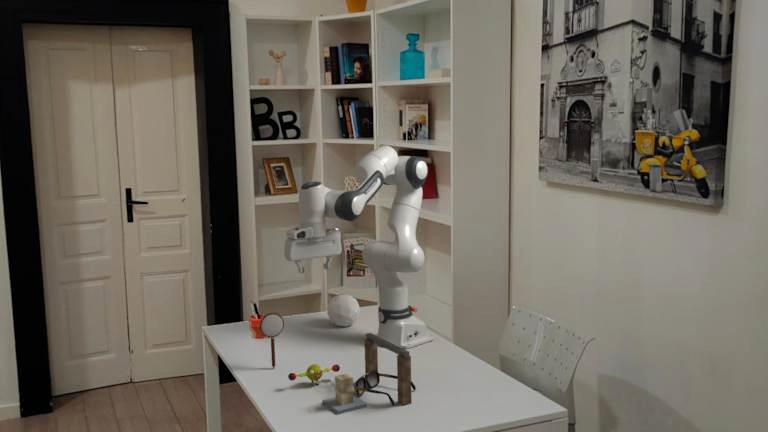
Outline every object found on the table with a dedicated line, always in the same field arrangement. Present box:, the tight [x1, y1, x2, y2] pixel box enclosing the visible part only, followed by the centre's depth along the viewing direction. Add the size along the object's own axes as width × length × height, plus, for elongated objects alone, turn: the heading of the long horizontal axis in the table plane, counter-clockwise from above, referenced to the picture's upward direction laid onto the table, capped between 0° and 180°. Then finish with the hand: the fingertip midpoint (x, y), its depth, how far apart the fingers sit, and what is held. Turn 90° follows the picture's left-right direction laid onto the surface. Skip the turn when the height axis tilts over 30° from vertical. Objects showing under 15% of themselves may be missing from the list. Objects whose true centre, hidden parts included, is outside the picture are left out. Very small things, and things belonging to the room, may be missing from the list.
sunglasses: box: [353, 370, 417, 407], centre depth 237 cm, size 14×15×5 cm
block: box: [334, 373, 354, 405], centre depth 229 cm, size 4×4×8 cm
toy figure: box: [287, 364, 340, 387], centre depth 246 cm, size 18×6×7 cm, turn 117°
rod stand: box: [364, 338, 412, 406], centre depth 238 cm, size 3×22×15 cm, turn 32°
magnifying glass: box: [259, 312, 285, 369], centre depth 261 cm, size 9×2×20 cm, turn 116°
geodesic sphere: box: [327, 293, 361, 328], centre depth 311 cm, size 14×14×14 cm
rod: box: [365, 332, 410, 358], centre depth 236 cm, size 2×23×2 cm, turn 32°
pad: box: [322, 394, 368, 415], centre depth 230 cm, size 10×10×1 cm
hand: (314, 270), depth 255 cm, fingers open, 8 cm apart
